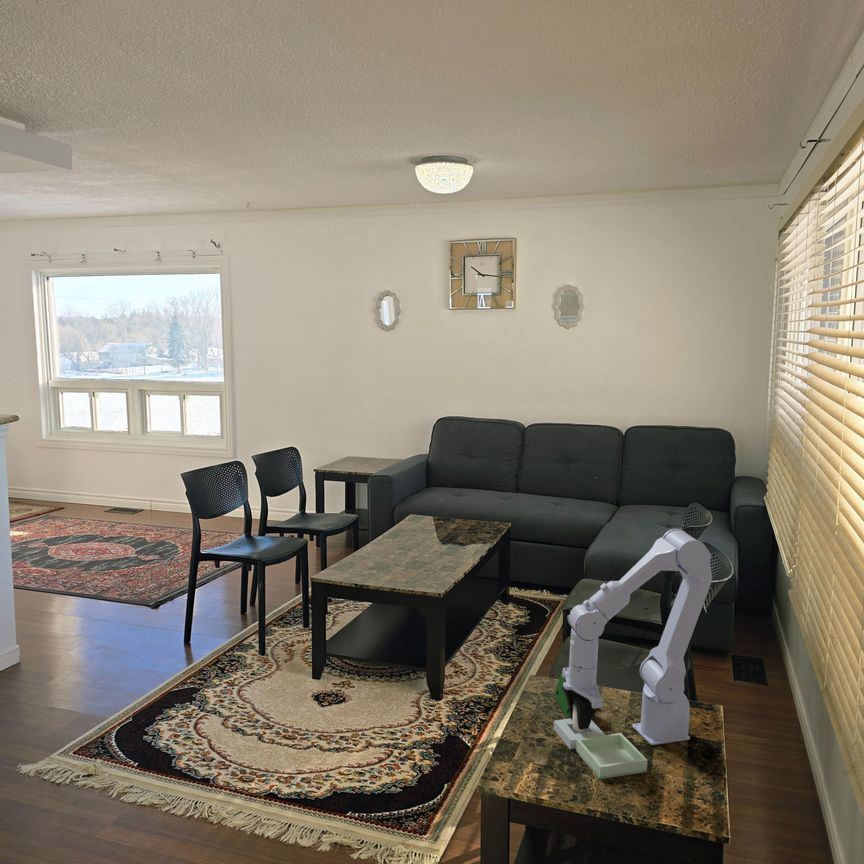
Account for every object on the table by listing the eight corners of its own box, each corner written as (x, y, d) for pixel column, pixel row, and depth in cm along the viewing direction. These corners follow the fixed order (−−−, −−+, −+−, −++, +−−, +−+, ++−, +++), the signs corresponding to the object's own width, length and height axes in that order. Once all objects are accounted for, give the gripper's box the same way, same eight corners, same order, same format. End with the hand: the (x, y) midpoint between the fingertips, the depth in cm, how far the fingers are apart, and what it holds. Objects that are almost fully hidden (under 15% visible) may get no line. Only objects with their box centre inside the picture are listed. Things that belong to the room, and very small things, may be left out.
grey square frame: (587, 724, 169) (587, 716, 168) (605, 744, 161) (605, 735, 161) (553, 729, 166) (553, 720, 166) (570, 749, 159) (570, 740, 159)
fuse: (582, 731, 166) (583, 701, 165) (588, 739, 163) (590, 708, 162) (568, 733, 165) (570, 703, 164) (575, 741, 162) (577, 710, 161)
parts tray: (620, 744, 161) (620, 732, 161) (646, 771, 152) (647, 760, 151) (575, 750, 158) (576, 739, 158) (599, 779, 149) (600, 767, 148)
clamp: (585, 734, 173) (602, 708, 168) (561, 730, 172) (576, 703, 167) (576, 691, 183) (592, 665, 179) (553, 686, 182) (568, 660, 178)
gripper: (550, 650, 167) (547, 709, 169) (581, 680, 153) (578, 744, 155) (580, 647, 169) (577, 705, 171) (613, 677, 155) (609, 740, 157)
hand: (579, 723), depth 163 cm, fingers closed on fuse, 3 cm apart
